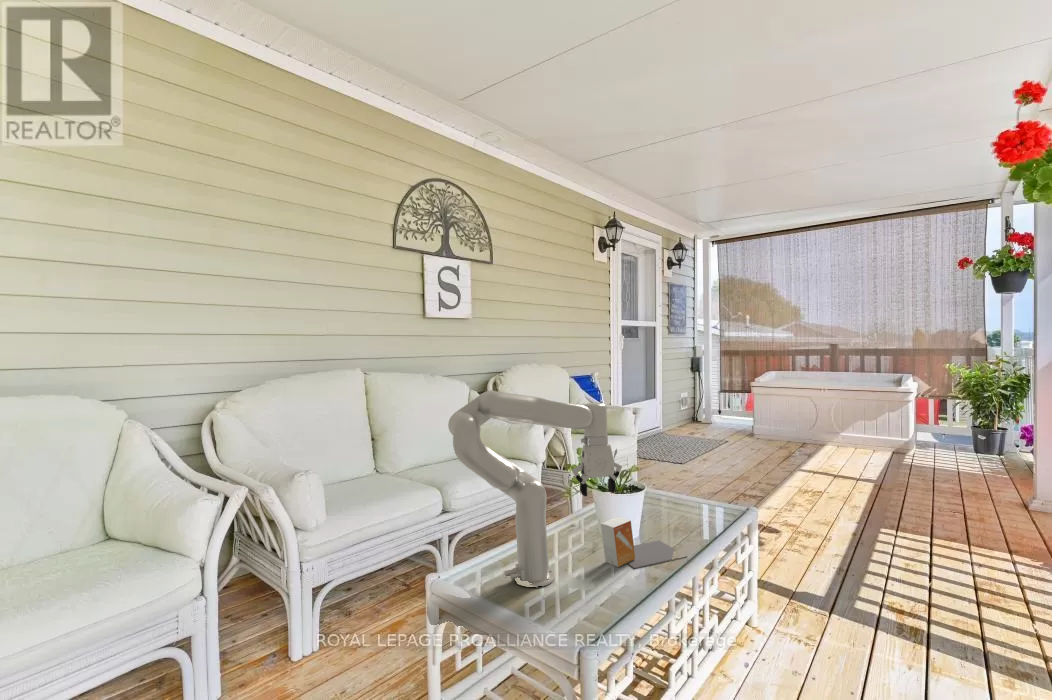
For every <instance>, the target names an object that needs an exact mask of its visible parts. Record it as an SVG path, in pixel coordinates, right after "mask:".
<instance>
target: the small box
mask: <svg viewBox="0 0 1052 700" xmlns="http://www.w3.org/2000/svg"><path fill="white" fill-rule="evenodd" d="M600 531H601V535H602V536H601V537H602V545H603V553H604V560H605V563H607V564H610V565H612V566H614V567H616V568H619V567H622V566H623V565H625V564H627V563H628V562H630V561H632V560H635V551H634V546H635V544H634V538H633V529H632V521H631V520H630V519H627V518H624V517H621V516H617V517H614V518H611V519H608V520H606V521H604V522H601V523H600Z"/></svg>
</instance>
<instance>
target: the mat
mask: <svg viewBox="0 0 1052 700" xmlns="http://www.w3.org/2000/svg"><path fill="white" fill-rule="evenodd" d="M674 549H675V548H673V547H672V546H670V545H669V544H667V543H665V542H663V541H661V540H655V541H650V542H645V543H639V544H636V545H635V544H634V551H635V560H632V561H630V562H628V563H626V565H628V566H629V567H631V568H633V569H634V570H636V569H641V568H646V567H650V566H654V565H659V564H663V562H664V563H666V562H665V561H668V562H670V561H669V560H672V557H673V556H672V555H673V551H674ZM672 561H673V560H672Z"/></svg>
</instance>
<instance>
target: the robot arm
mask: <svg viewBox="0 0 1052 700" xmlns="http://www.w3.org/2000/svg"><path fill="white" fill-rule="evenodd" d="M607 411H608V410H607V405H606V404H605V403H603V402H588V403H571V402H569V403H567V402H560V401H555V400H549V399H546V398H542V397H539V396H533V395H525V394H524V395H523V394H519V393H518V394H517V393H510V392H505V391H497V390H486V391H484V392H482V393H481V394H479V395H478V396H476V398H474V399H472V400H471V401H470V402H468V403H467V404H465V405H463V406H462V407H461V408H459V409H458V410H457V411H455V412H454V413H453V414H452V415H451V416H450V418H449V419H448V423H447V426H448V427H447V428H448V430H449V432H450V434H451V435H452V436H453V437H452V445H453V450H454V451H453V452H454V453H455V456H456V458H457V459H458V460H459V462H460V463H462V465H464V466H465V467H466V468H468V469H469V470H471V471H472V472H473V473H474V474H476V475H477V476H479V477H480V478H482V479H483V480H484V481H486V482H487V484H489V486H491V487H492V488H495V489H498V490H500V491H501V492H502V493H504V494H505V495H507V496H508V497H510V499H512V500H513V501H514V502H515V533H516V551H517V552H516V553H517V563H516V564H515V567H513V568H512V569H507V570H503V572H502V573H504V574H503V576H504V575H505V576H510V577H509V579H510V580H514V578H517V577H518V578H520V580H521V581H528V582H529V583H532V584H530V585H533V586H542V587H545V586H548V585H550V584H551V583H552V582H554V580H555V573H554V571H553V570H552V569H550V565H549V551H548V549H549V548H548V535H547V534H548V533H547V531H548V530H547V521H546V519H547V517H546V516H547V515H546V514H547V513H546V510H547V491H546V488H545V486H544V484H543V483H542V482H541V481H540V480H539V479H538V478H536V477H535V476H533V475H531V474H530V473H528V472H526V471H525V470H524V469H522V468H521V467H520V466H519V465H516V464H515V463H514V462H512V461H511V460H510V459H509V458H507V457H506V456H504V455H502V454H499V453H497V452H496V451H494V450H492V449H491V448H490V447H489V446H487V445H486V444H485V443H483V441H482V439H481V426H483V425H484V424H485V423H487V422H488V421H490V419H493V420H500V421H507V422H514V423H515V422H516V423H524V424H531V425H537V426H538V425H539V426H549V427H557V428H558V427H559V428H564V429H572V430H584V431H583V432H584V433H583V434H584V435H583V438H580V443H581V444H584V445H582V450H581V458H580V464H579V465H577V466H576V467H575V468H573V469H572V470H571V472H572V474H573V477H574V478H575V479H576V480H577V481H578V482H579V491H580V494H581V495H582V496H584V497H587V496H588V484H587V483H586V482H587V481H588V480H589V479H597V478H603V477H604V478H605V477H608V479H607V488H608V492H610V493H612V494H615V490H616V481H617V478H618V477H619V475H620V474H621V473H620V472H621V470H622V468H623V466H622V465H620V464H618V463H616V462H615V461H614V456H613V451H612V446H611V444H609V442H608V441H609V436H608V412H607ZM579 472H581V475H579Z"/></svg>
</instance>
